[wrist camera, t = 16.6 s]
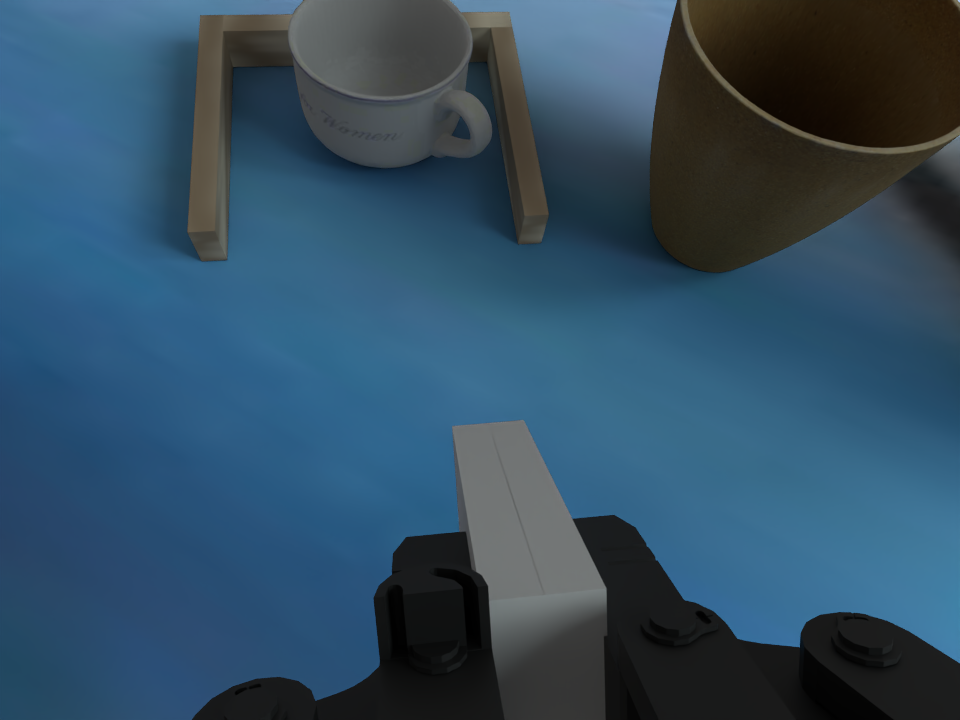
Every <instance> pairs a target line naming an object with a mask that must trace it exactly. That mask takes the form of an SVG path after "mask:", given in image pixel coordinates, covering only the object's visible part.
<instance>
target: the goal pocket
mask: <svg viewBox="0 0 960 720" xmlns="http://www.w3.org/2000/svg"><path fill="white" fill-rule="evenodd" d="M292 15H293V14H283V15H200V28H199V45H198V62H197V79H196V96H195V113H194V130H193V147H192V163H191V180H190V197H189V214H188V231H187V232H188V234H189V237H190V239H191V241H192V243H193V245H194V247H195V249H196V251H197V253H198V255H199V257H200V259H201V261H217V260H227V251H228V218H229V186H230V153H231V120H232V88H233V67H261V66H294V63H293V57H292V55H291V52H290V49H289V45H288V26H289V22H290V20H291V17H292ZM462 15H463V16H464V17H465V19H466V20H467V22H468V24H469V27H470V30H471V33H472V38H473V50H472V54H471V58H470V60H469V62H487V65H488V71H489V77H490V83H491V89H492V95H493V101H494V106H495V112H496V118H497V124H498V130H499V136H500V141H501V147H502V153H503V159H504V165H505V171H506V177H507V182H508V188H509V194H510V200H511V206H512V212H513V218H514V223H515V229H516V235H517V241H518V244H533V243H541V241H542V238H543V234H544V231H545V227H546V224H547V220H548V217H549V212H548V207H547V202H546V197H545V191H544V186H543V181H542V176H541V171H540V166H539V161H538V156H537V151H536V146H535V141H534V136H533V130H532V125H531V120H530V115H529V110H528V105H527V100H526V95H525V90H524V85H523V80H522V74H521V69H520V64H519V59H518V54H517V49H516V44H515V39H514V34H513V29H512V24H511V19H510V13H509V12H463V13H462Z"/></svg>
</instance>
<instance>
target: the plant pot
mask: <svg viewBox="0 0 960 720" xmlns="http://www.w3.org/2000/svg"><path fill="white" fill-rule="evenodd" d="M959 135H960V3H959V1H958V0H677V3H676V7H675V11H674V15H673V19H672V23H671V27H670V31H669V36H668V40H667V45H666V49H665V54H664V60H663V65H662V70H661V75H660V80H659V87H658V93H657V99H656V106H655V113H654V121H653V131H652V142H651V154H650V208H651V219H652V227H653V229H654V232H655V235H656V237H657V239H658V240H659V242H660V243H661V245H662V246H663V247H664V248H665V250H666V251H667V252H668V253H669V254H670V255H672V256H673V257H674V258H676V259H677V260H678V261H680V262H681V263H683V264H685V265H687V266H689V267H692V268H695V269H697V270H701V271H707V272H726V271H731V270H734V269H737V268H739V267H742V266H745V265H748V264H750V263H753V262H755V261H758V260H760V259H762V258H765V257H767V256H769V255H772V254H774V253H776V252H778V251H780V250H783V249H785V248H787V247H789V246H791V245H793V244H795V243H797V242H799V241H801V240H803V239H805V238H806V237H808V236H810V235H812V234H814V233H816V232H818V231H819V230H821V229H823V228H825V227H826V226H828V225H830V224H832V223H833V222H835V221H837V220H838V219H840V218H842V217H843V216H845V215H847V214H848V213H850V212H852V211H853V210H855V209H856V208H858V207H860V206H861V205H863V204H864V203H866V202H867V201H869V200H870V199H872V198H873V197H875V196H876V195H878V194H879V193H881V192H882V191H884V190H885V189H887V188H888V187H889V186H891V185H892V184H894V183H895V182H896V181H898V180H899V179H901V178H902V177H903V176H905V175H906V174H907V173H909V172H910V171H912V170H913V169H914V168H916V167H917V166H918V165H920V164H921V163H923V162H924V161H925V160H927V159H928V158H929V157H931V156H932V155H933V154H935V153H936V152H938V151H939V150H940V149H942V148H943V147H944V146H946V145H947V144H948V143H950V142H951V141H952V140H954V139H955V138H956V137H958V136H959Z"/></svg>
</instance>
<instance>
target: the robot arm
mask: <svg viewBox="0 0 960 720" xmlns="http://www.w3.org/2000/svg"><path fill="white" fill-rule="evenodd" d="M452 431H453V445H454V459H455V473H456V487H457V502H458V516H459V530H460V532H454V533H444V534H434V535H423V536H413V537H406V538H405V539H404V541H403V542H402V543H401V544H400V546H399V547H398V548H397V549H396V551H395V552H394V553H393V563H392V575H391V576H390V577H389V578H387V579H386V580H385V581H384V582H383V583H381V584H380V585H379V587H378V589H377V591H376V593H375V596H374V607H375V616H376V626H377V636H378V645H379V655H380V666H379V667H378V668H377V669H376V670H375V671H374V672H373V673H372V674H371V675H370V676H369V677H368V678H366V679H365V680H363V681H362V682H360V683H358V684H357V685H355V686H354V687H351V688H349V689H347V690H344V691H342V692H340V693H337V694H334V695H332V696H329V697H326V698H323V699H320V700H317V701H315V699H314V696H313V694H312V691H311V690H310V689H309V688H307V687H306V686H304V685H303V684H302V683H300V682H299V681H296V680H291V679H286V678H281V677H273V678H261V679H255V680H251V681H248V682H245V683H242V684H239V685H236V686H233V687H231V688H229V689H228V690H226V691H224V692H223V693H221V694H219V695H217V696H216V697H214V698H212V699H211V700H210V701H209V702H208V703H207V704H206V705H205V706H204V707H203V708H202V709H201V710H200V711H199V712H198V713H197V714H196V715H195V716H194V718H193V719H192V720H960V663H958V662H957V661H955V660H953V659H952V658H950V657H949V656H947V655H945V654H944V653H942V652H941V651H939V650H938V649H936V648H934V647H933V646H931V645H930V644H928V643H926V642H925V641H923V640H922V639H920V638H918V637H917V636H915V635H914V634H912V633H910V632H909V631H907V630H905V629H903V628H901V627H899V626H896V625H894V624H892V623H890V622H888V621H885V620H882V619H878V618H875V617H871V616H868V615H866V614H860V613H851V612H838V613H830V614H823V615H819V616H817V617H815V618H813V619H811V620H809V621H808V622H806V624H805V626H804V628H803V630H802V632H801V637H800V647H791V646H781V645H771V644H761V643H755V642H749V641H743V640H739V639H737V638H736V636H735V635H734V634H733V632H732V631H731V629H730V628H729V627H728V625H727V624H726V623H725V622H724V621H723V620H722V619H721V618H720V617H719V616H718V615H717V614H716V613H715V612H713V611H712V610H709V609H707V608H705V607H703V606H701V605H699V604H697V603H694V602H689V601H685V600H684V599H683V598H682V596H681V595H680V593H679V592H678V591H677V589H676V588H675V586H674V585H673V583H672V582H671V580H670V579H669V577H668V576H667V574H666V573H665V571H664V570H663V568H662V567H661V565H660V564H659V562H658V561H656V560H655V556H654V555H653V553H652V552H651V550H650V549H649V547H647V546H646V543H645V541H644V540H643V538H642V537H641V535H640V534H639V532H638V531H637V529H636V528H635V527H634V526H632V525H630V524H629V523H627V522H625V521H624V520H622V519H620V518H619V517H617V516H615V515H609V516H598V517H588V518H577V519H572V517H571V515H570V513H569V511H568V509H567V507H566V505H565V503H564V501H563V499H562V497H561V495H560V493H559V491H558V489H557V487H556V485H555V483H554V481H553V479H552V477H551V475H550V473H549V471H548V469H547V467H546V464H545V462H544V460H543V458H542V456H541V454H540V452H539V450H538V448H537V446H536V444H535V442H534V440H533V438H532V436H531V434H530V432H529V430H528V428H527V426H526V424H525V422H524V420H519V421H508V422H496V423H484V424H472V425H460V426H452Z"/></svg>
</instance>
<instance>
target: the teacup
mask: <svg viewBox="0 0 960 720" xmlns="http://www.w3.org/2000/svg"><path fill="white" fill-rule="evenodd" d="M288 45H289V49H290V52H291V55H292V57H293V63H294V71H295V76H296V82H297V88H298V93H299V97H300V102H301V106H302V109H303V112H304V115H305V118H306V120H307V122H308V124H309V126H310V128H311V130H312V131H313V133H314V134H315V136H316V137H317V138H318V139H319V140H320V141H321V142H322V143H323V144H324V145H325V146H326V147H327V148H328V149H330V150H331V151H332V152H334V153H335V154H337V155H338V156H340V157H342V158H344V159H346V160H348V161H351V162H354V163H357V164H360V165H364V166H369V167H377V168H395V167H402V166H407V165H411V164H414V163H416V162H419V161H421V160H423V159H426V158H427V157H429V156H431V155H433V156H435V157H438V158H442V157H445V156H450V157H457V158H471V157H473V156H475V155H478V154H479V153H481V152H482V151H483V150H484V149H485V148H486V147H487V146H488V144H489V142H490V140H491V137H492V123H491V120H490V117H489V114H488V112H487V110H486V109H485V107H484V105H483V104H482V103H481V102H480V101H479V100H478V99H477V98H476V97H475V96H474V95H472V94H470V93H468V92H466V91H465V88H466V80H467V72H468V63H469V60H470V58H471V54H472V50H473V38H472V33H471V30H470V27H469V24H468V22H467V20H466V19H465V17H464V16H463V15H462V13H461V12H460V11H459V9H458V8H457V7H456V6H455V5H454V4H453V3H452V2H451V1H449V0H303V2H302V3H301V4H300V5H299V6H298V7H297V8H296V10H295V11H294V13H293V15H292V17H291V20H290V22H289V26H288ZM460 116H461V117H462V119H463V120H464V121H465V123H466V124H467V126H468V129H469V132H470V137H471V139H470V140H467V139H461V138H457V137H454V136H451V135H452V134H453V132H454V130H455V128H456V126H457V123H458V121H459V118H460Z"/></svg>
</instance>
